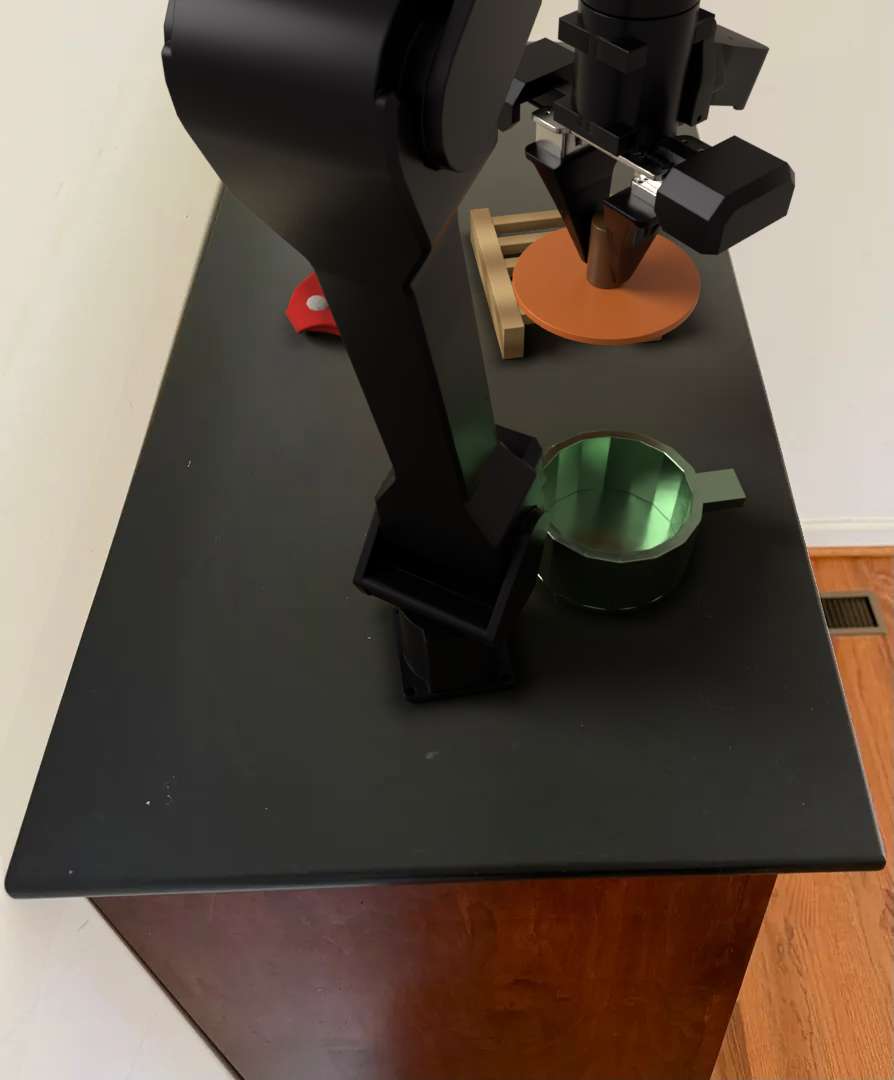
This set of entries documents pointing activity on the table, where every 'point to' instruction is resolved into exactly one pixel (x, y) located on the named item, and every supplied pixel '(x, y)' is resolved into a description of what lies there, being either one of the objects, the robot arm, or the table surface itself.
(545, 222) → the rack
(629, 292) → the lid
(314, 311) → the tracker holder
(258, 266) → the table surface
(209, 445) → the table surface
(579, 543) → the pot
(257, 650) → the table surface
